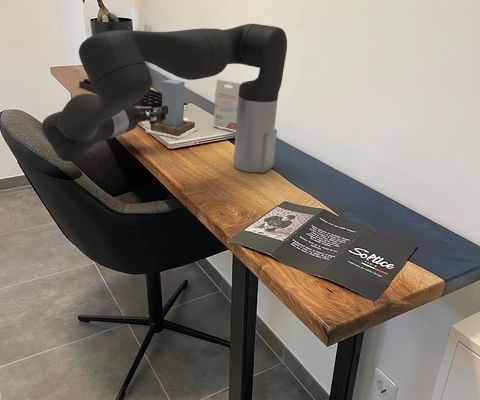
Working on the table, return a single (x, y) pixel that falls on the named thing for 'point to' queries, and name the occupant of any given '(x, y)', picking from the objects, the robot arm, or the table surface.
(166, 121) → the grey rectangular bar
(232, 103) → the ink cartridge box
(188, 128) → the brown square frame
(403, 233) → the table surface
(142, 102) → the computer keyboard
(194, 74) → the robot arm
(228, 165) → the table surface
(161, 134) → the mat
